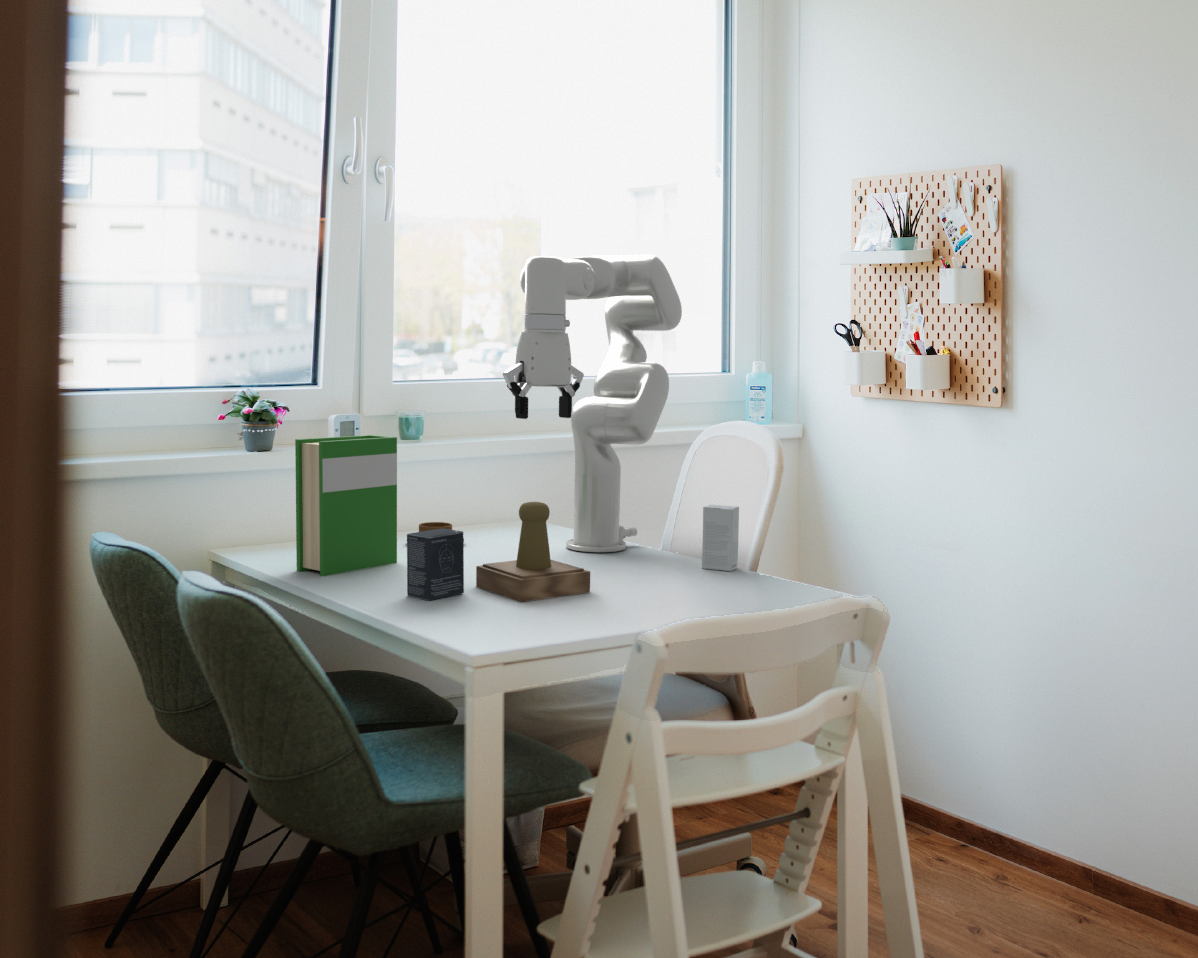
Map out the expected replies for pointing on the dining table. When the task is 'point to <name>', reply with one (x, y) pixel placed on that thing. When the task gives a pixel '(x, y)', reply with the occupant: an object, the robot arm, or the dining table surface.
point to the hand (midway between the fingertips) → (543, 418)
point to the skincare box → (720, 537)
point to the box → (435, 564)
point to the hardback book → (346, 503)
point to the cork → (533, 537)
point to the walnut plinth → (532, 580)
